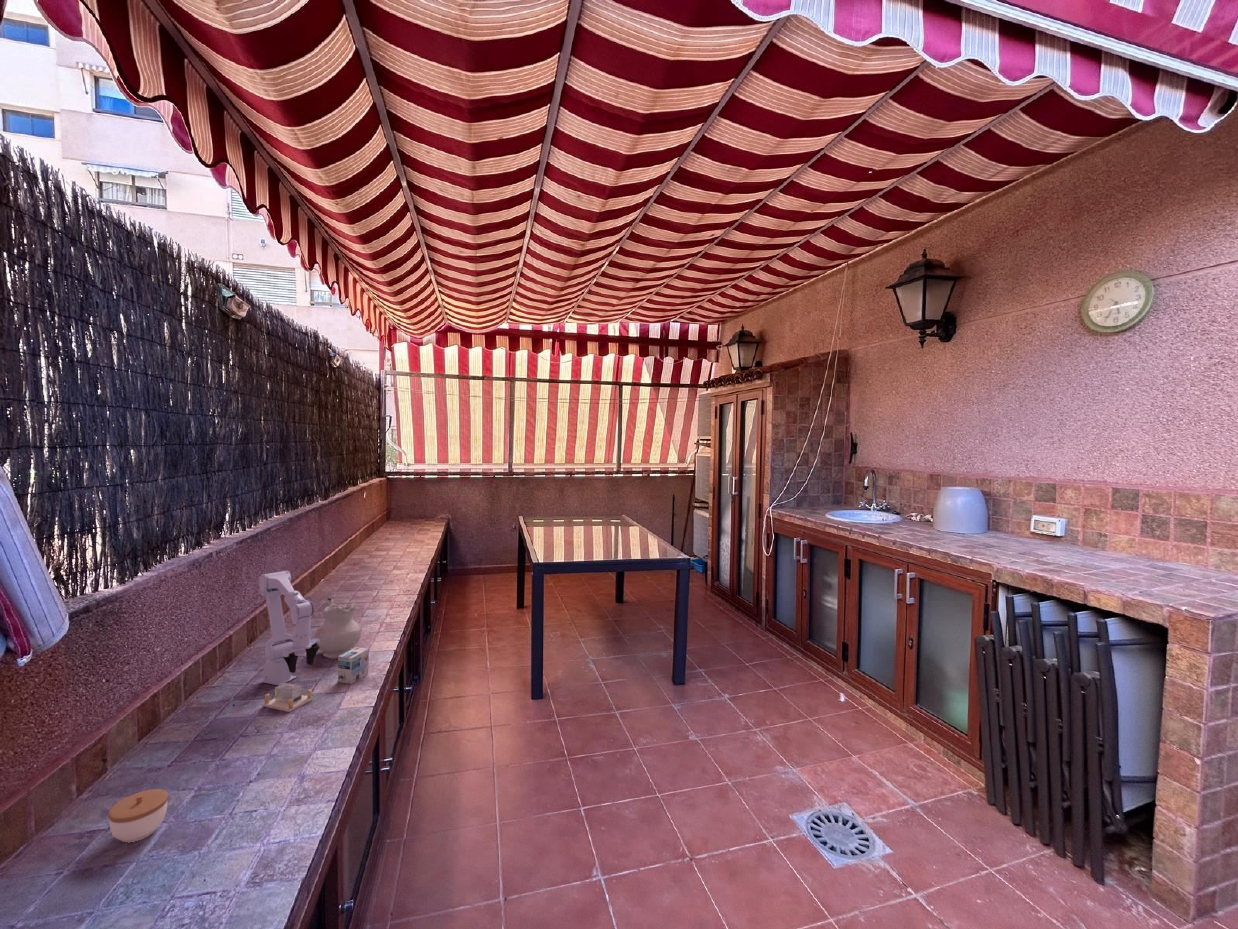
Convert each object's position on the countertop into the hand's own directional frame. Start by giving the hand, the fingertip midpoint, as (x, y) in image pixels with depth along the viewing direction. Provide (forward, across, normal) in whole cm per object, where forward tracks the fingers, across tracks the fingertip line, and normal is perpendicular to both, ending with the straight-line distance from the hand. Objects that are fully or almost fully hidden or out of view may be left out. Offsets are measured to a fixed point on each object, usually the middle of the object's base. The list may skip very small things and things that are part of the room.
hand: (301, 668), depth 199 cm
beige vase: (+10, +35, +19) cm, 41 cm away
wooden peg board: (+10, -7, -2) cm, 12 cm away
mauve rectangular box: (+9, -8, -3) cm, 12 cm away
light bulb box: (+10, +18, -8) cm, 22 cm away
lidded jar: (+10, -68, -27) cm, 74 cm away
